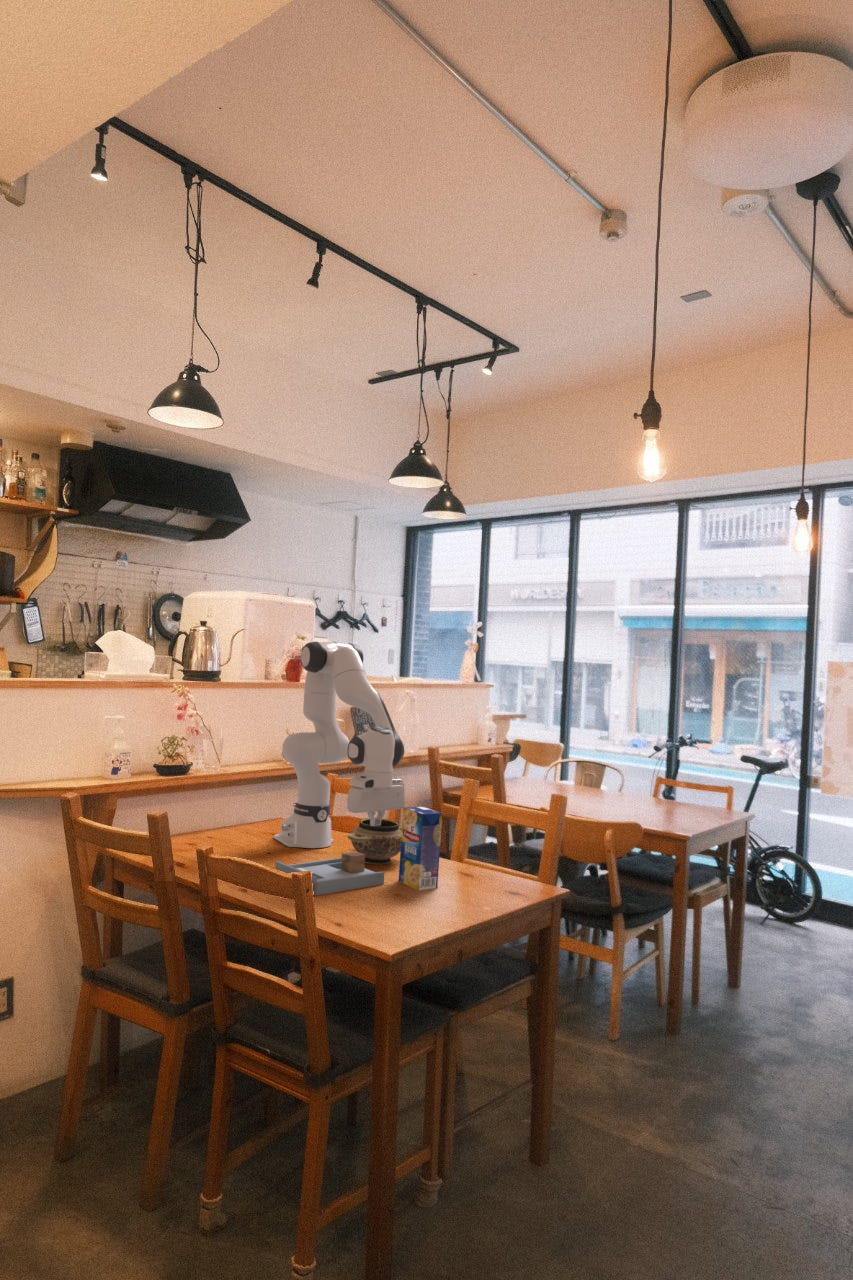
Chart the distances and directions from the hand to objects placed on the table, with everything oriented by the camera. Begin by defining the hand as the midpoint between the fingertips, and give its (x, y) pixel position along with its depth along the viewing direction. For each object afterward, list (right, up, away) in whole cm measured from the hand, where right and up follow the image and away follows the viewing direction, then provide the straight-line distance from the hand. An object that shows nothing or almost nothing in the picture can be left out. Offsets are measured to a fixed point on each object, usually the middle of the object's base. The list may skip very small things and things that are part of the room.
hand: (375, 825), depth 254 cm
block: (-7, -12, -5) cm, 15 cm away
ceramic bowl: (-1, -16, +18) cm, 24 cm away
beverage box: (+13, -16, -6) cm, 22 cm away
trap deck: (-13, -14, -9) cm, 21 cm away
